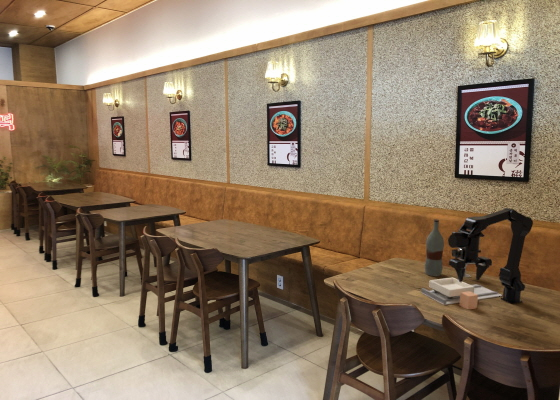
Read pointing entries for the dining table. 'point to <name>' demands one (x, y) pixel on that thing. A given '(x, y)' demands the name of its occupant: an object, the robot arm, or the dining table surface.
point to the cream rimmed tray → (450, 286)
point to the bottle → (434, 251)
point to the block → (468, 300)
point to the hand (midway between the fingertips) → (468, 281)
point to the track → (444, 299)
